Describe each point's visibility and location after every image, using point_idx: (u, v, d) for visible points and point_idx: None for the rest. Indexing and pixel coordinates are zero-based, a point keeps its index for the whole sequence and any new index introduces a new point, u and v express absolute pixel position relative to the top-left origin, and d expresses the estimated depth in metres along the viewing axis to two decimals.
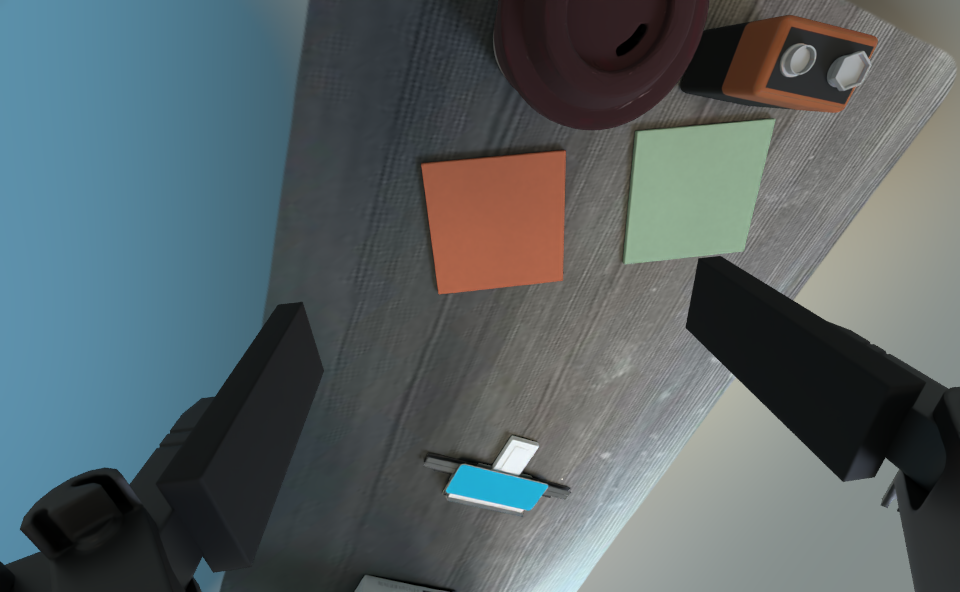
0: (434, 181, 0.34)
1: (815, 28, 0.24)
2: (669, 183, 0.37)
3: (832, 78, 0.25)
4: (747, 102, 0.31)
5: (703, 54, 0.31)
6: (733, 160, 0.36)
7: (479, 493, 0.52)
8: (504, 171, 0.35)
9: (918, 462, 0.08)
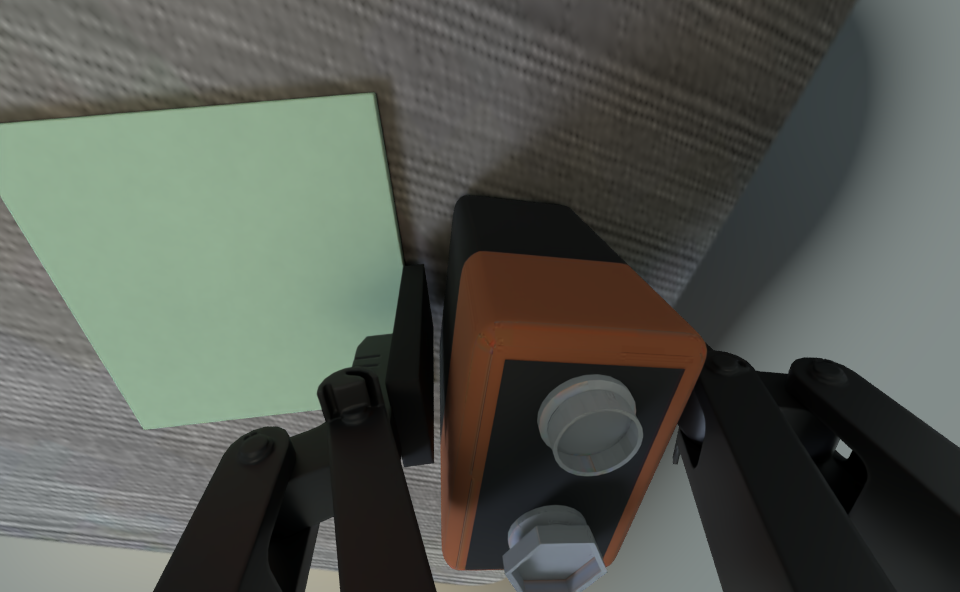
0: None
1: (664, 434, 0.08)
2: (254, 217, 0.14)
3: (536, 532, 0.08)
4: (446, 338, 0.13)
5: (536, 214, 0.13)
6: (337, 348, 0.17)
7: None
8: None
9: (688, 423, 0.10)
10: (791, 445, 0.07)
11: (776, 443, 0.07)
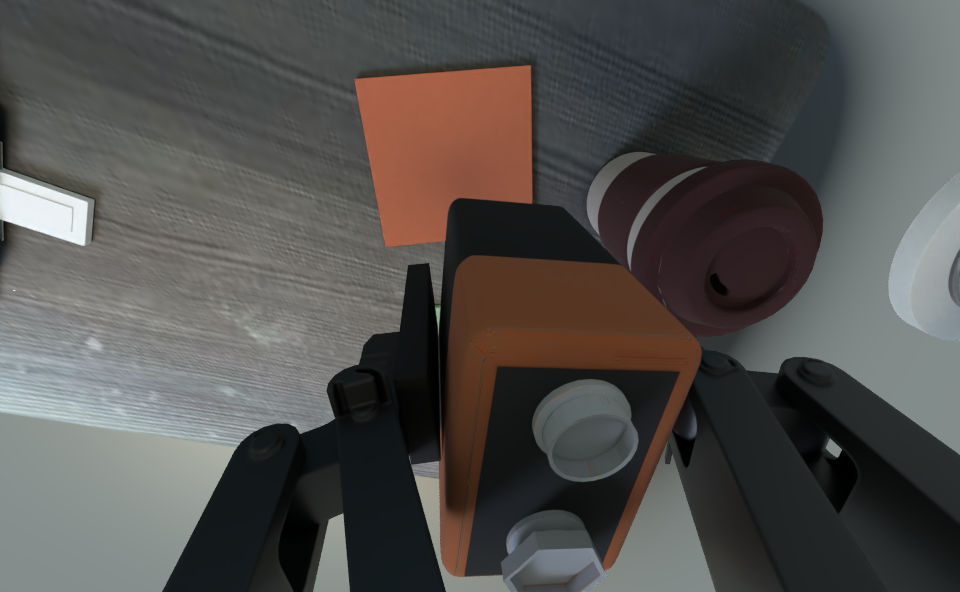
0: (510, 81, 0.29)
1: (661, 436, 0.08)
2: None
3: (534, 538, 0.08)
4: (442, 342, 0.13)
5: (530, 215, 0.13)
6: None
7: None
8: (516, 168, 0.32)
9: (680, 422, 0.10)
10: (781, 444, 0.07)
11: (766, 442, 0.07)
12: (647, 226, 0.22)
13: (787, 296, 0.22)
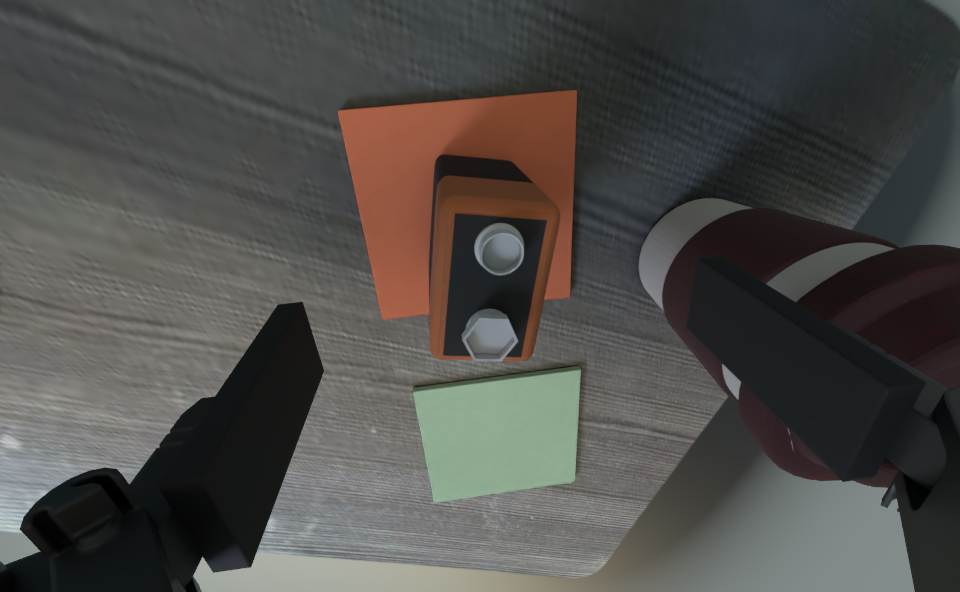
0: (548, 111, 0.21)
1: (543, 261, 0.15)
2: (518, 414, 0.31)
3: (478, 315, 0.15)
4: (431, 246, 0.20)
5: (487, 163, 0.20)
6: (538, 462, 0.34)
7: None
8: None
9: (918, 462, 0.08)
10: None
11: None
12: None
13: None
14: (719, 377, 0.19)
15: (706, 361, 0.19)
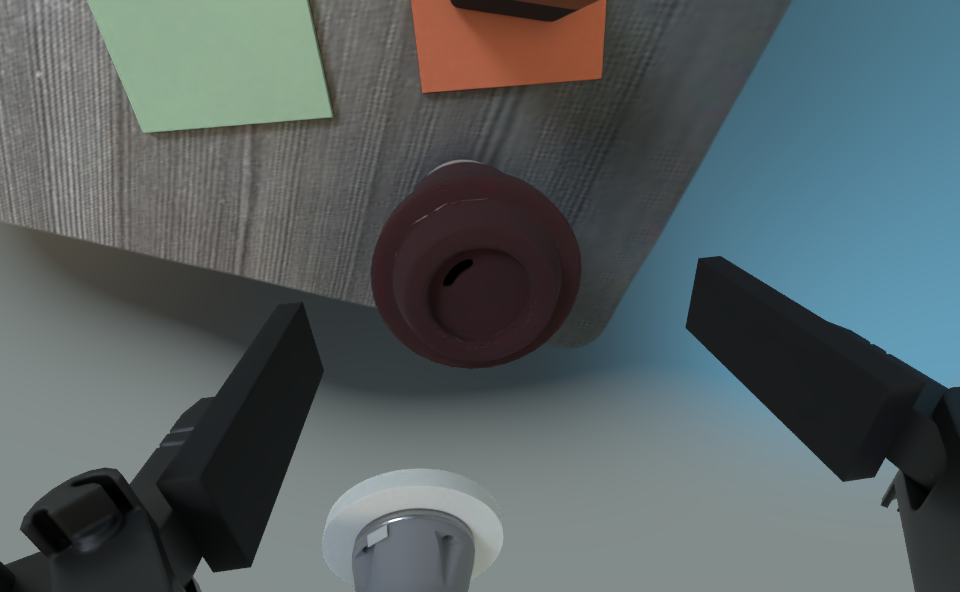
0: (589, 54, 0.27)
1: None
2: (256, 39, 0.25)
3: None
4: None
5: None
6: (171, 74, 0.25)
7: None
8: (500, 65, 0.27)
9: (918, 462, 0.08)
10: None
11: None
12: (514, 178, 0.18)
13: (450, 348, 0.19)
14: None
15: (435, 178, 0.22)
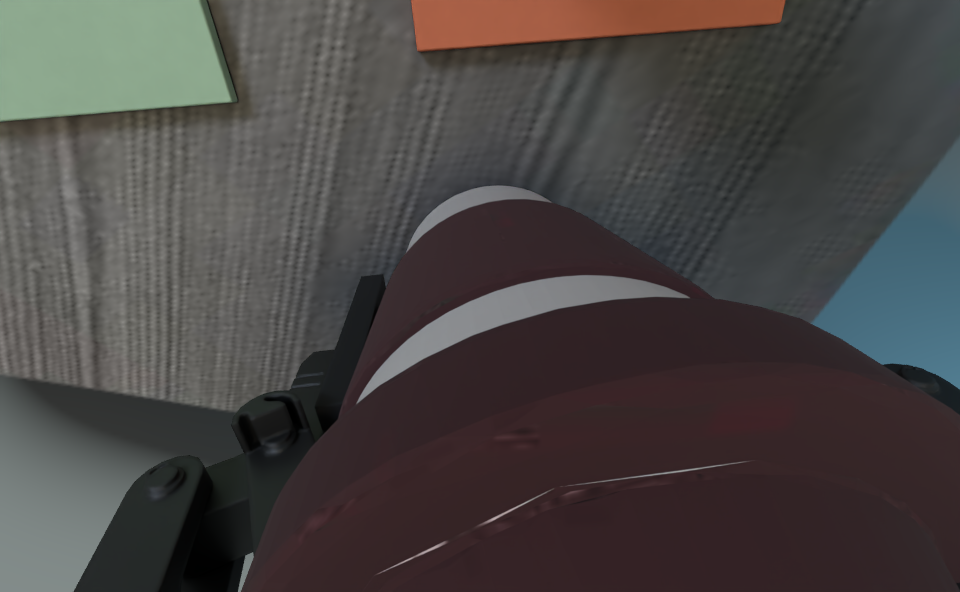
0: None
1: None
2: None
3: None
4: None
5: None
6: None
7: None
8: None
9: None
10: None
11: None
12: (817, 336, 0.04)
13: None
14: (446, 301, 0.07)
15: (456, 271, 0.07)
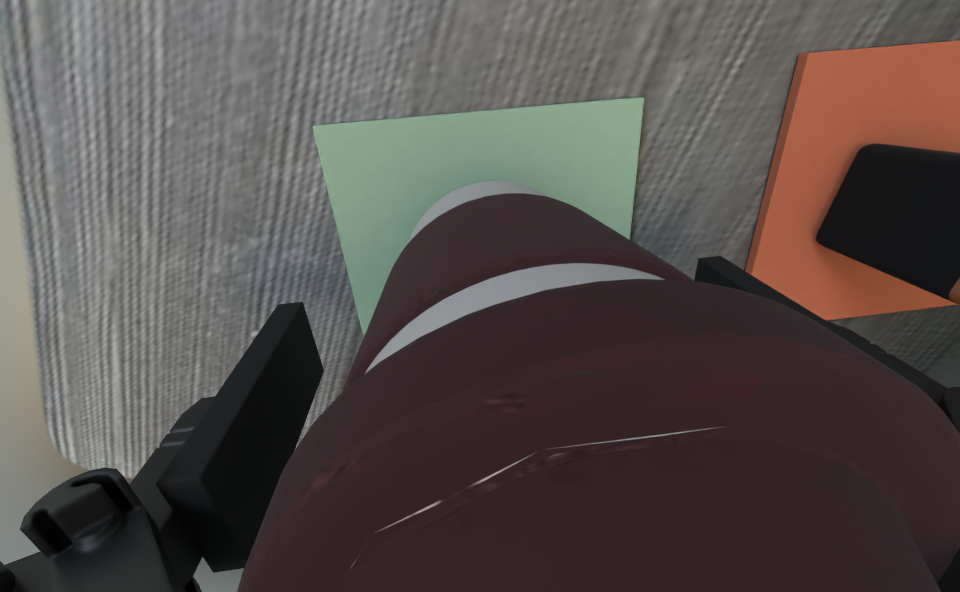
0: None
1: None
2: None
3: None
4: None
5: None
6: None
7: None
8: (843, 298, 0.20)
9: None
10: None
11: None
12: (787, 314, 0.05)
13: None
14: (443, 287, 0.07)
15: (453, 260, 0.08)
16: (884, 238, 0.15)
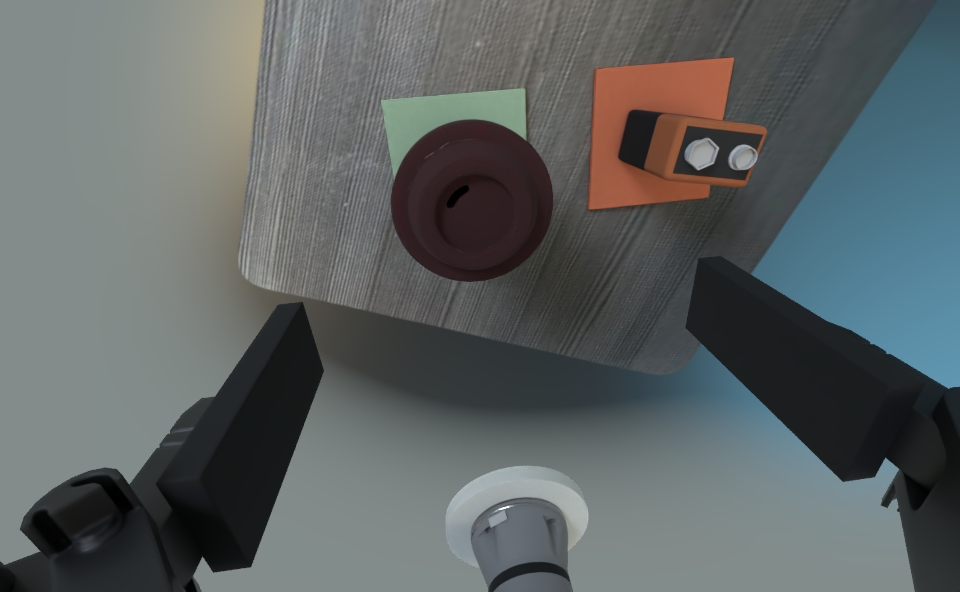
0: None
1: (724, 181, 0.31)
2: None
3: None
4: None
5: None
6: None
7: None
8: (642, 192, 0.40)
9: (918, 462, 0.08)
10: None
11: None
12: (499, 124, 0.24)
13: (453, 257, 0.25)
14: None
15: None
16: (632, 150, 0.35)
